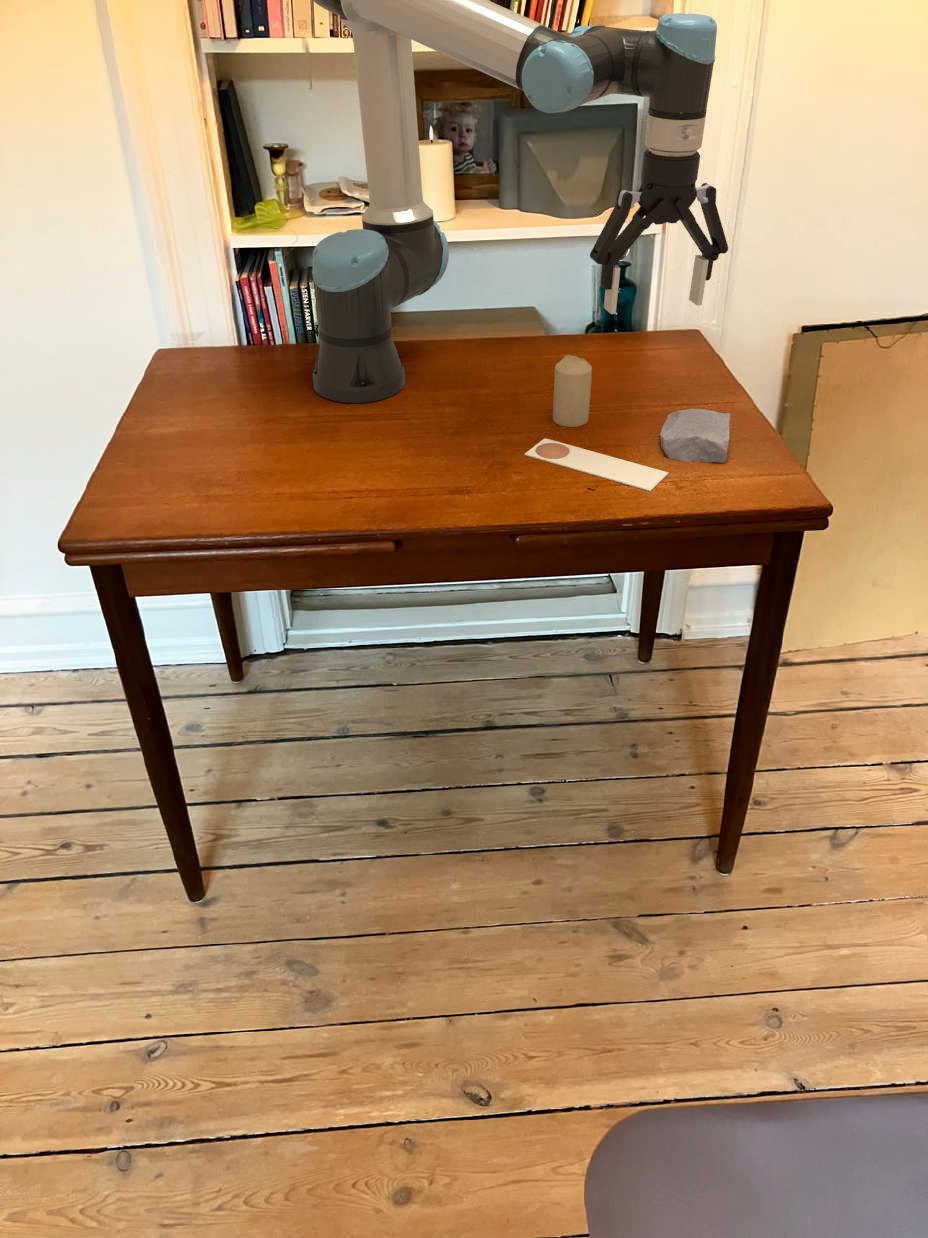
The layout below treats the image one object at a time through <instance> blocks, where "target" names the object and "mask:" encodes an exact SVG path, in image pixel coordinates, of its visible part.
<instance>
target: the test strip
mask: <svg viewBox="0 0 928 1238" xmlns="http://www.w3.org/2000/svg"><path fill="white" fill-rule="evenodd" d="M524 456H527V457H529V458H533V459H537V460H541V461H543V462H545V463H546V462H547V463H550V464H553V465H557V466H560V467H564V468H567V469H571V470H575V471H578V472H581V473H584V474H589V475H591V476H595V477H599V478H601V479H605V480H609V481H611V482H616V483H619V484H623V485H627V486H630V487H633V488H637V489H640V490H643V491H647V492H652V491H653V490H654V488H656V487H657V485H659V484H660V483H661V482H662V481H663V480H664V479H665V478H666V477H667V476H669V474H670V473H669V472H667V471H665V470H661V469H657V468H655V467H650V466H646V465H643V464H640V463H636V462H632V461H628V460H626V459H621V458H617V457H614V456H611V455H607V454H603V453H600V452H596V451H592V450H588V449H584V448H582V447H578V446H575V445H571V444H567V443H564V442H561V441H558V440H557V441H556V440H553V439H550V438H543V439H542V440H540V441H539V442H538V443H537V444H535V445H534V446H533V447H531V448H530V449H529V450H528V451H526V452H525V453H524Z"/></svg>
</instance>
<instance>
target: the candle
mask: <svg viewBox="0 0 928 1238" xmlns="http://www.w3.org/2000/svg"><path fill="white" fill-rule="evenodd" d="M592 371H593V366H592V365H591V364H590V363H589V362H588V361H587V360H586V359H584V358H583V357H582V358H580V357H578V356H575V355H569V354H566V355H565V356H564V357H563V358H562V359H561V360H560V361H558V363H556V364H555V366H554V383H553V384H554V385H553V386H554V387H553V404H552V405H553V407H552V420H553V422H554V423H555V424H556V425H558V426H562V427H566V428H575V427H581V426H584V425H586V424H587V423H588V421H589V416H590V401H591V388H592V375H593V374H592V373H593V372H592Z"/></svg>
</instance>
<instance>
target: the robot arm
mask: <svg viewBox="0 0 928 1238" xmlns="http://www.w3.org/2000/svg"><path fill="white" fill-rule="evenodd" d="M312 2H314V3H315V4H317V5H318V6H319V7H321V8H322V9H324V10H327V11H328V12H330V13H332V14H335V15H336V16H339V18H340V22H341V23H342V24H343V25H344V26H345V27H346V28H347V29H348V30H349V31H350V33H351V34H352V42H353V53H354V62H355V70H356V71H355V73H356V83H357V91H358V102H359V111H360V119H361V130H362V140H363V141H362V142H363V149H364V150H363V151H364V152H363V153H364V160H365V170H366V179H367V189H368V191H367V192H368V199H369V200H368V201H369V205H368V207H367V208H366V209H365V211H364V212H363V214H362V215H361V221H362V223H361V225H362V229H360V228H357V229H356V228H355V229H348V230H346V231H344V232H342V231H339V232H336V233H333V234H330V235H328V236H326V237H324V238H323V239H322V240H321V239H320V241H319V242H318V243H316V245H315V247H314V249H313V251H312V269H311V274H312V275H311V276H312V281H313V287H314V289H313V290H314V295H315V296H314V298H315V304H316V305H315V307H316V315H317V323H318V333H319V345H318V349H317V354H316V357H315V362H314V364H315V365H314V369H313V370H312V381H313V382H312V383H313V389H314V391H315V392H316V394H318V395H319V396H321V397H323V399H327V400H330V401H334V402H339V403H340V402H341V403H347V404H348V403H350V404H351V403H353V404H354V403H355V404H356V403H359V404H360V403H369V402H376V401H380V400H384V399H387V398H391V397H392V396H394V395H396V394H397V393H400V391H401V390H402V389H404V387H405V385H406V376H405V368H404V365H403V363H402V362H401V359H400V357H399V354H398V353H399V352H398V350H397V348H396V344H395V343H394V342H395V341H394V340H393V333H392V313H391V310H392V309H394V308H396V307H397V306H400V305H402V304H404V303H405V302H407V301H409V300H412V299H413V298H415V297H417V296H421V295H423V294H425V293H426V292H428V291H429V290H430V289H431V288H432V287H434V286H435V285H437V284H438V283H439V281H440V280H442V278H443V276H444V275H445V273H446V270H447V268H448V265H449V260H450V259H449V257H450V256H449V255H450V251H449V243H448V240H447V237H446V234H445V232H443V231H442V230H441V227H440V225H439V224H438V223H437V222H436V221H435V220H434V211H433V209H432V208H431V207H430V206H429V205H428V204H427V203H426V202H425V201H424V198H423V186H422V185H423V184H422V169H421V157H420V156H421V155H420V144H419V142H420V141H419V140H420V139H419V129H418V128H419V127H418V114H417V113H418V112H417V100H416V99H417V98H416V85H415V73H414V71H415V70H414V60H413V59H414V57H413V43H412V41H414V42H416V43H418V44H420V45H423V46H425V47H427V48H430V49H431V50H432V51H433V50H434V51H436V52H438V53H440V54H442V55H444V56H446V57H449V58H451V59H453V60H455V61H458V62H460V63H462V64H463V65H467V66H468V67H470V68H473V69H475V70H477V71H478V72H481V73H483V74H486V75H488V76H490V77H492V78H494V79H496V80H498V81H501V82H503V83H506V84H507V85H510V86H512V87H514V88H516V89H518V90H520V91H523V92H524V95H525V97H526V99H528V102H529V103H530V104H531V105H532V106H533V107H534V108H535V109H536V110H538V111H540V112H543V113H545V114H556V113H565V112H567V113H568V112H570V111H572V110H574V109H576V108H577V107H580V106H582V105H584V104H587V103H590V102H592V101H595V100H598V99H601V98H605V97H607V96H609V95H625V96H635V97H640V98H641V97H642V98H643V97H646V98H647V97H648V100H649V101H648V111H647V120H646V129H645V137H644V138H645V139H644V145H645V147H646V148H647V149H645V150H644V152H643V157H642V166H641V174H640V179H641V181H640V182H641V183H640V186H639V189H638V190H637V191H631V190H630V191H629V190H626V189H625V188H619V189H618V191H617V194H616V199H615V204H614V206H613V209H612V211H611V213H610V215H609V217H608V219H606V220H607V221H606V222H605V224H604V226H603V228H602V230H601V232H600V234H599V236H598V238H597V240H596V241H595V243H594V246H593V247H592V249H591V251H590V253H589V257H590V259H591V260H592V261H594V262H595V263H596V264H597V265H601V274H600V285H601V288H603V290H605V292H604V301H603V309H605V310H606V311H607V312H608V313H609V314H610V315H616V314H617V313H616V312H617V304H618V296H619V295H618V294H619V285H620V284H619V283H620V275H621V267H619V265H617V264H618V263H619V261H620V260H621V259H622V258H623V257H624V255H625V254H626V253H627V252H628V251H629V249H630V248H632V246H633V244H635V242H636V241H637V240H638V238H640V237H641V235H642V234H643V232H645V230H647V229H649V228H650V227H651V225H653V224H655V225H664V224H666V223H667V224H668V223H669V224H678V222H679V221H680V222H681V224H682V226H684V228H685V230H686V231H687V232H688V234H689V236H690V238H691V239H692V240H693V242H694V244H695V245H696V247H697V248H698V250H699V252H700V253H701V254H695V256H694V261H693V262H694V263H693V268H692V277H691V284H690V289H689V295H688V296H689V298H688V300H689V301H690V302H692V303H693V304H694V305H696V306H697V307H698V306H699V307H700V306H702V305H703V298H704V293H705V287H706V281H710V279H711V277H712V272H713V267H714V266H713V265H714V262H715V261H717V260H718V259H719V256H720V254H726V253H727V252H728V251H729V245H728V241H727V237H726V235H725V231H724V228H723V223H722V220H721V217H720V214H719V210H718V207H717V188H716V187H714V186H713V185H711V184H708V183H707V182H704V183H701V185H700V186H697V187H696V183H697V180H698V176H699V175H698V174H699V169H700V162H701V155H700V153H699V151H698V150H700V149H701V148H702V147H703V145H702V144H703V138H704V132H705V126H706V118H707V117H706V116H707V111H708V109H707V108H708V103H709V97H710V96H709V95H710V88H711V84H712V83H711V82H712V78H713V70H714V64H715V62H716V46H717V45H716V43H717V32H718V25H717V22H716V20H715V19H714V18H713V17H712V16H710V15H706V14H700V13H678V12H677V13H665V14H663V15H661V16H660V17H659V19H658V21H657V25H656V26H657V27H656V28H655V30H642V29H641V30H639V29H632V28H630V29H629V28H621V27H613V26H612V27H610V26H605V25H603V24H601V25H600V24H596V25H579V26H577V27H575V28H573V30H572V31H571V34H570V35H567V34H565V33H562V32H559V31H558V30H555V29H553V28H550V27H547V26H545V24H543V23H540V22H537V21H536V20H534V19H532V18H529V17H527V16H524V15H522V14H520V13H517V12H516V11H513V10H511V9H508V8H506V7H503V6H502V5H499V4H497V3H494V2H492V1H490V0H312ZM696 200H697V201H698V202H699V203H700V207H701V211H702V215H703V217H704V220H705V223H706V227H707V230H708V234H709V237H710V241H709V239H708V237H707V236H706V235H705V232H704V231H703V230H702V228H701V227H700V225H699V224H698V221H697V219H696V217H695V215H694V214H693V213H692V211H691V209H690V208H691V206H692V204H693V203H694V202H695V201H696ZM636 203H638V205H639V208H638V209H637V210H636V211H635V212H634V214H633V215H632V217H631V220H630V221H629V223H628V224H627V225H626V226H625V228H624V229H623V230H622V228H623V226H624V224H625V223H626V220H627V219H628V216H629V215H630V211H631V209H633V208H634V207H635V204H636ZM621 230H622V232H620V231H621ZM619 233H620V234H619Z"/></svg>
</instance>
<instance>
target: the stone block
mask: <svg viewBox="0 0 928 1238" xmlns="http://www.w3.org/2000/svg"><path fill="white" fill-rule="evenodd" d="M666 417H667V419H666V420H665V422H664V424H663V425H662V428H661V430H660V434H659V436H660V437H659V438H660V446H661V450H663V452H664V454H665V456H666V457H667V458H668V459H670V460H677V461H680V462H692V463H693V462H695V463H697V462H700V463H701V462H702V463H709V464H712V463H717V464H725V462H726V461H727V455H728V449H729V443H730V421H731V414H730V412H727V413H723V412H722V413H721V412H718V411H714V410H709V409H702V408H688V409H683V410H682V409H680V410H679V409H678V410H677V411H673V412H671V413H669V414H668V415H667V416H666Z"/></svg>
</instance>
